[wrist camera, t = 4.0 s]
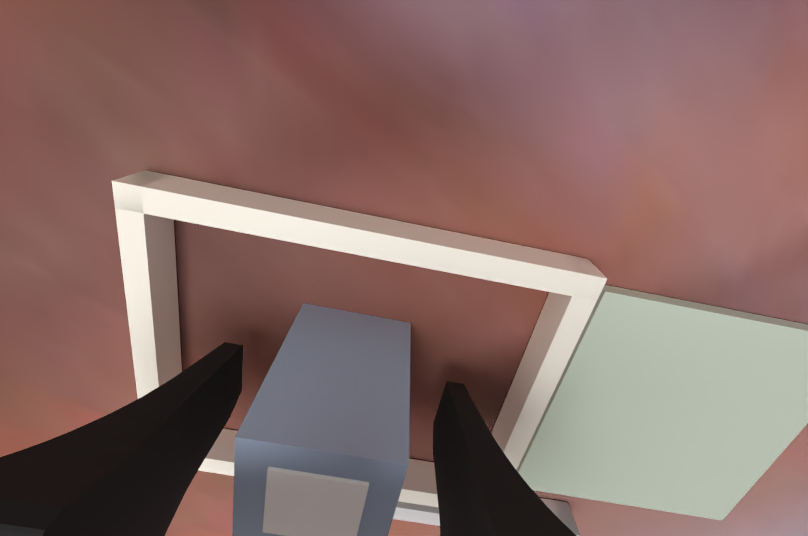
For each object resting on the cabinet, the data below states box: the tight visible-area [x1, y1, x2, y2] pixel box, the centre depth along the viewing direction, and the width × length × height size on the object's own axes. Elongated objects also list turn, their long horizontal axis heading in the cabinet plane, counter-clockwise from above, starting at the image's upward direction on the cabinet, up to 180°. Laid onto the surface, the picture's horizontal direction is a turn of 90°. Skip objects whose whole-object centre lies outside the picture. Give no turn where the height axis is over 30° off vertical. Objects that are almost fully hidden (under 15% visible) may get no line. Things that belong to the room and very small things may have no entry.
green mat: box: [517, 285, 808, 520], centre depth 16 cm, size 10×10×1 cm
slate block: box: [233, 303, 411, 536], centre depth 12 cm, size 4×4×6 cm
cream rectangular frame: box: [112, 170, 607, 507], centre depth 14 cm, size 15×12×2 cm
